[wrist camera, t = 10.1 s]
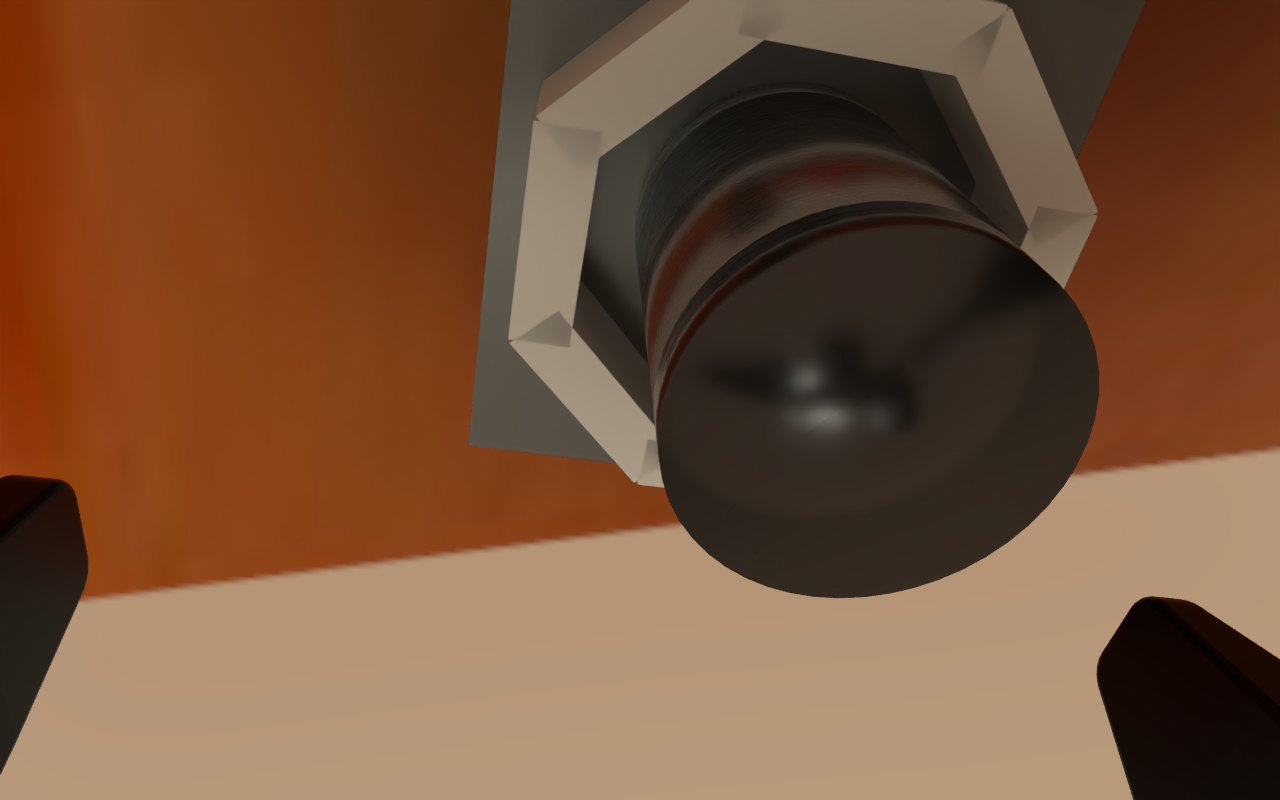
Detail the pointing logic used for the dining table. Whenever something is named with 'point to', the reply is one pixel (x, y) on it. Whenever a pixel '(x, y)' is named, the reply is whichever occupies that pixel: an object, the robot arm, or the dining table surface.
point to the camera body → (697, 77)
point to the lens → (847, 351)
